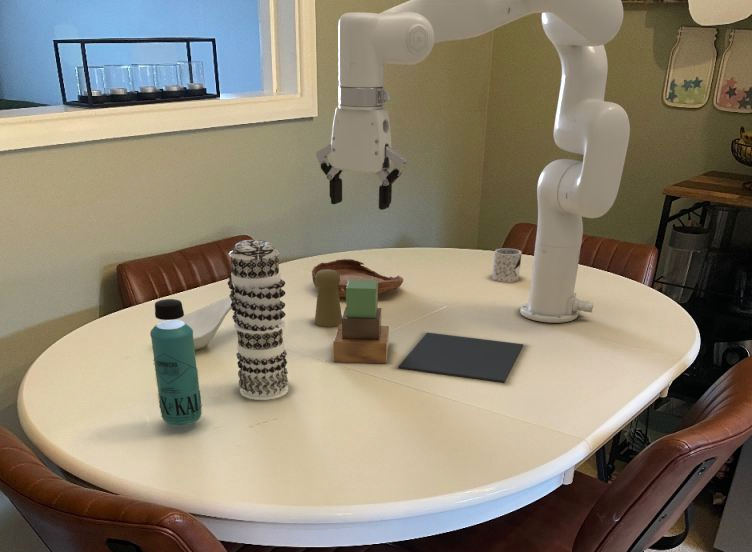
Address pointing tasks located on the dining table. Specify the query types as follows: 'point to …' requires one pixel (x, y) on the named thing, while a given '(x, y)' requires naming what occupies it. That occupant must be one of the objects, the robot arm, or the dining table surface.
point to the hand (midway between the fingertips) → (360, 205)
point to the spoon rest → (206, 321)
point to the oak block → (361, 348)
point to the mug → (506, 265)
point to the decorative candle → (258, 319)
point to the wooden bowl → (356, 275)
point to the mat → (463, 357)
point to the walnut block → (361, 327)
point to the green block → (361, 298)
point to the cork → (328, 299)
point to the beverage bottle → (175, 365)
